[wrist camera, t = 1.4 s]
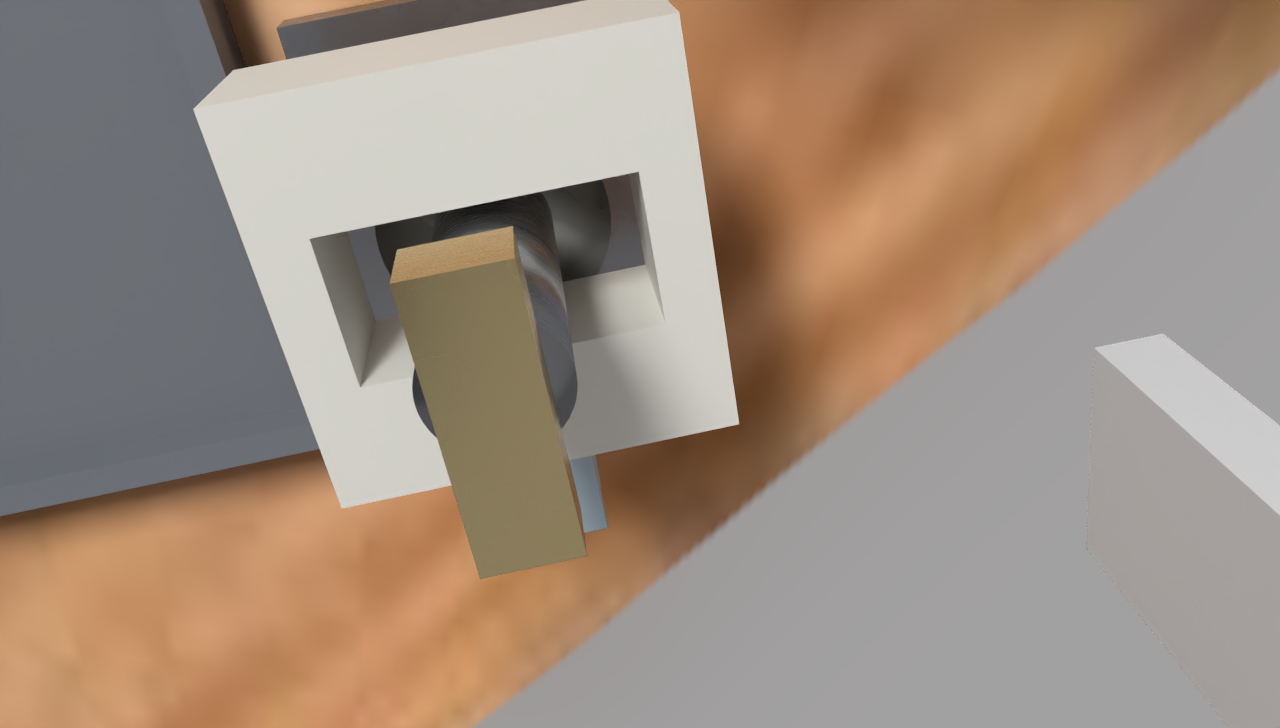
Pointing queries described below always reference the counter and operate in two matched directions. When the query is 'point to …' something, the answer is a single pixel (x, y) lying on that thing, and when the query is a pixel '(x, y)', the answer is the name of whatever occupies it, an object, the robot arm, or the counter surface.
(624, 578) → the counter surface
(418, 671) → the counter surface
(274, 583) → the counter surface
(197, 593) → the counter surface
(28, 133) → the tray
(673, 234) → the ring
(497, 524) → the metal post stand
